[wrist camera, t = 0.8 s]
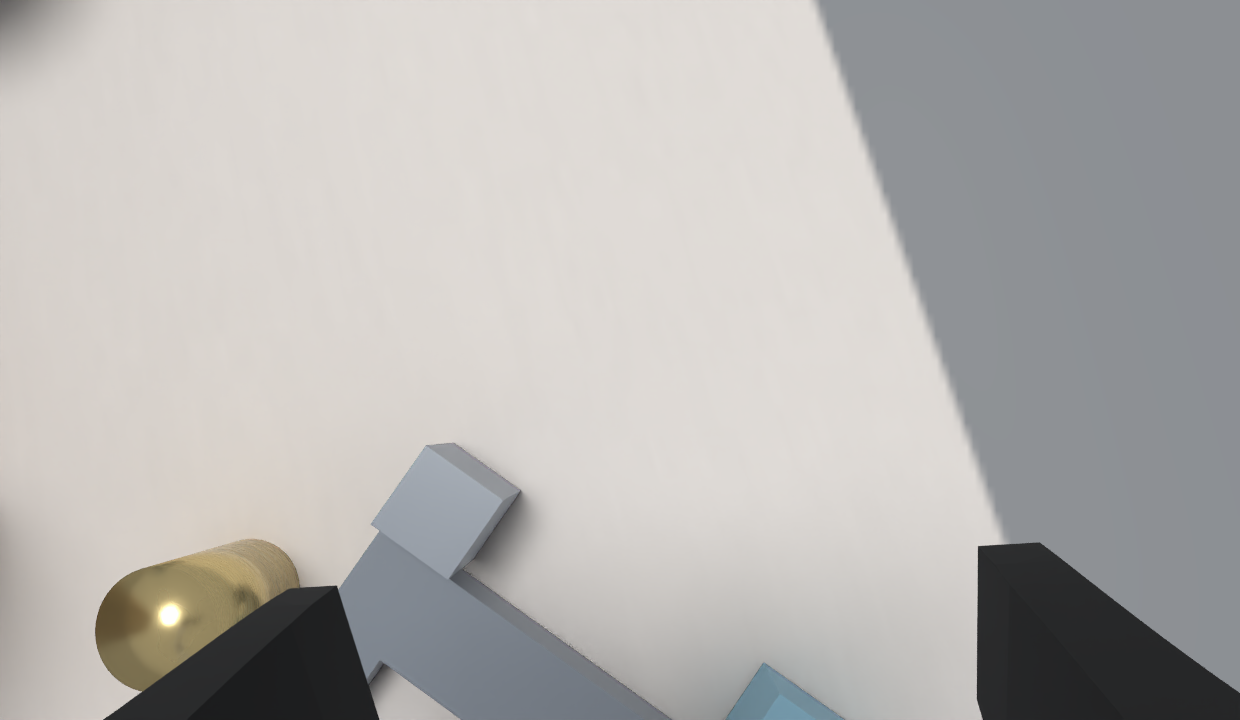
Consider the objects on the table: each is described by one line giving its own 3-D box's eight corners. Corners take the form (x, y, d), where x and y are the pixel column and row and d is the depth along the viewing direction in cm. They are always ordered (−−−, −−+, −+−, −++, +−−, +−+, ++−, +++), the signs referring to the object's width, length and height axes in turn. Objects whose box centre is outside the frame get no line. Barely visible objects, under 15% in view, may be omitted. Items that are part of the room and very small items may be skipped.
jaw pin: (260, 660, 31) (168, 718, 25) (180, 602, 31) (70, 644, 25) (318, 577, 31) (241, 614, 25) (239, 519, 31) (144, 542, 25)
